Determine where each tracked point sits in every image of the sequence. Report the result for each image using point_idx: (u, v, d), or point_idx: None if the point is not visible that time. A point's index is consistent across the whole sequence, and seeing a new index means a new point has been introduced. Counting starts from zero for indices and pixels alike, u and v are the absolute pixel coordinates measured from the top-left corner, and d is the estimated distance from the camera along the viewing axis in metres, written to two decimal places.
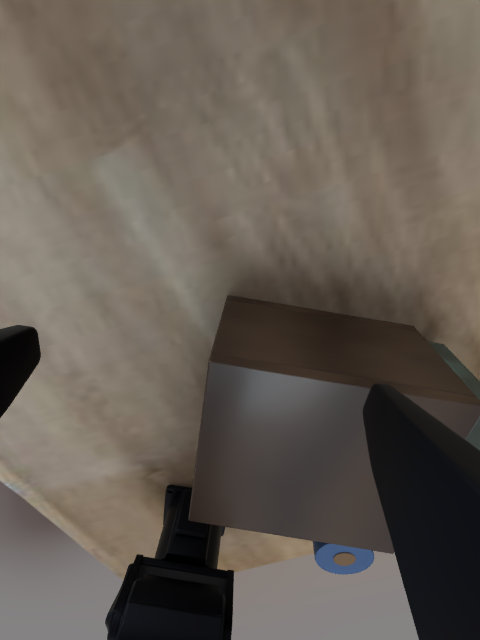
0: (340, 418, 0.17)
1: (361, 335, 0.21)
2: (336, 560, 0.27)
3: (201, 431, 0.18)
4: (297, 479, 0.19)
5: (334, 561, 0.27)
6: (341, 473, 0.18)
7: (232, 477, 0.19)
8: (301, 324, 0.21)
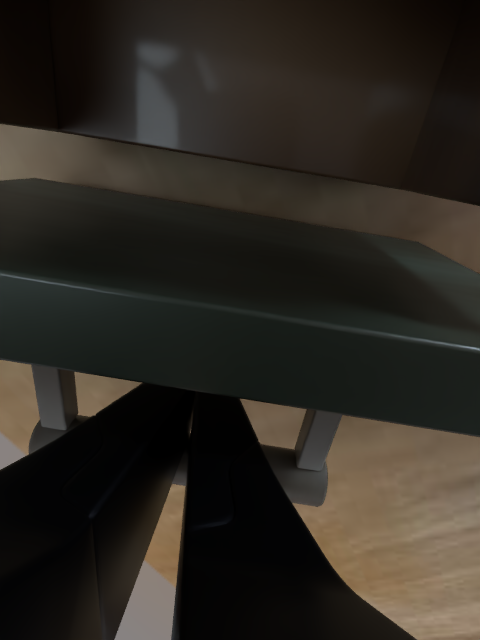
0: None
1: None
2: None
3: None
4: None
5: None
6: None
7: None
8: None
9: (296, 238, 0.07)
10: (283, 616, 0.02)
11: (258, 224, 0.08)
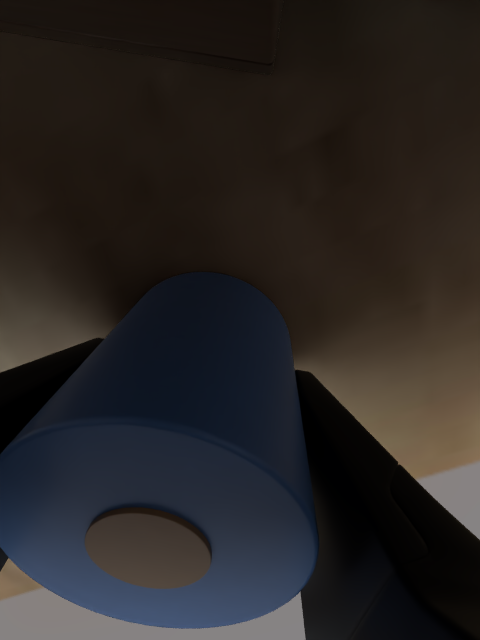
0: None
1: None
2: (108, 559, 0.05)
3: None
4: None
5: (98, 565, 0.05)
6: None
7: None
8: None
9: None
10: None
11: None
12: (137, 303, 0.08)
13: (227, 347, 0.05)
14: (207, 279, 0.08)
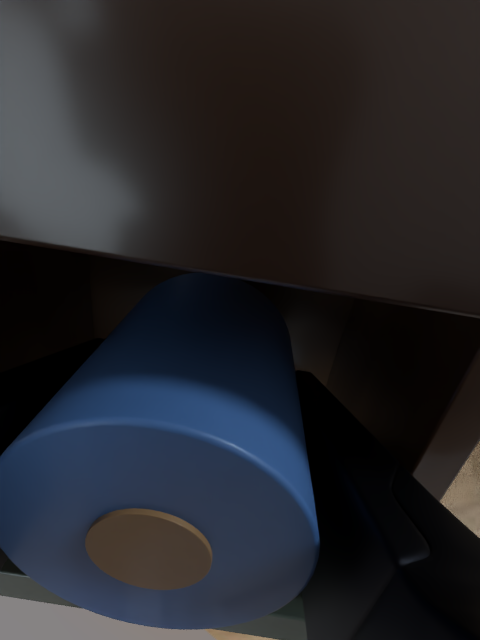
0: None
1: None
2: (108, 560, 0.05)
3: None
4: None
5: (98, 567, 0.05)
6: None
7: None
8: None
9: None
10: None
11: None
12: (137, 304, 0.08)
13: (228, 348, 0.05)
14: (207, 280, 0.08)
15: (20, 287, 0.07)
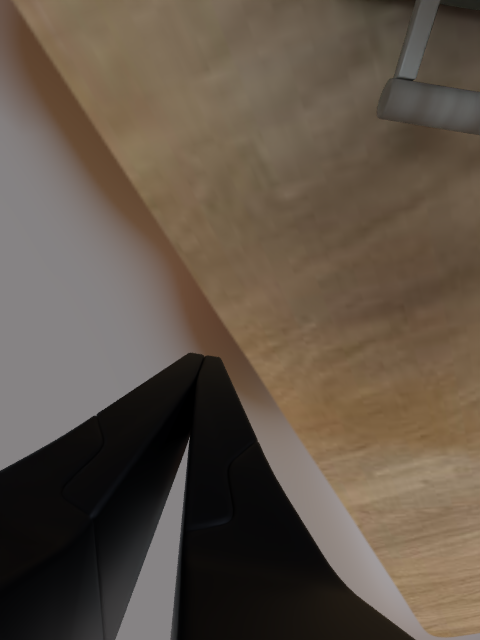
0: None
1: None
2: None
3: None
4: None
5: None
6: None
7: None
8: None
9: None
10: (282, 616, 0.02)
11: None
12: None
13: None
14: None
15: None
